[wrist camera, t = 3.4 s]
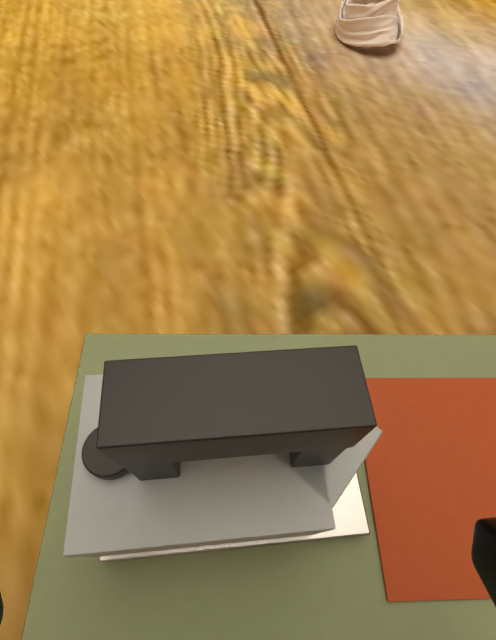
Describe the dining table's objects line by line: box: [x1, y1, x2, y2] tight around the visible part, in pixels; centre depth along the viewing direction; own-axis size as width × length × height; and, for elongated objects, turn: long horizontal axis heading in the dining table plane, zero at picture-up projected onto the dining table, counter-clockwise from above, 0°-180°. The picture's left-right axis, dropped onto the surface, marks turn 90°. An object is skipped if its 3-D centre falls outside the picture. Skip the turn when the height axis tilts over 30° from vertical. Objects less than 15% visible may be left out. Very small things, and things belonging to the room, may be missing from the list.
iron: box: [63, 345, 382, 563], centre depth 14 cm, size 11×6×10 cm, turn 95°
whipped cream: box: [335, 0, 404, 48], centre depth 39 cm, size 8×7×5 cm
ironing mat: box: [21, 334, 496, 640], centre depth 19 cm, size 28×15×1 cm, turn 91°
